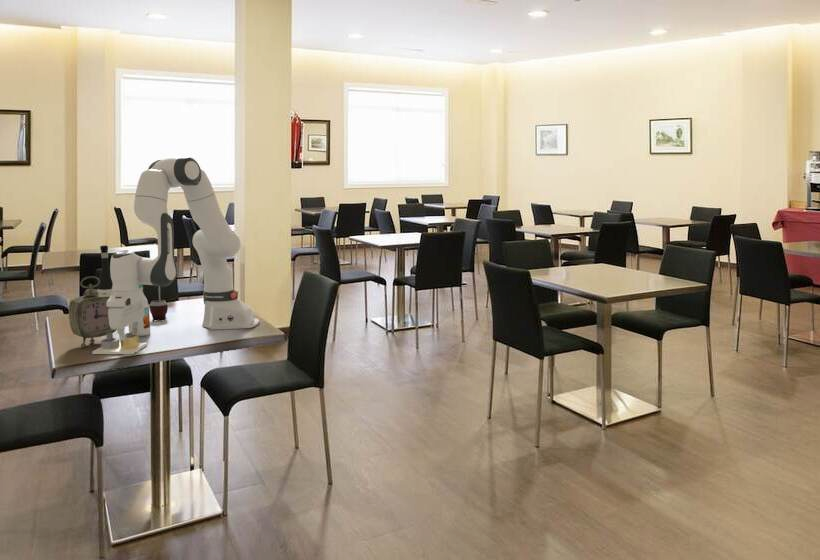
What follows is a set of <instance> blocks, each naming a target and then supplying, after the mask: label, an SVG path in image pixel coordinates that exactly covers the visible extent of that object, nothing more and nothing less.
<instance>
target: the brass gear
mask: <svg viewBox="0 0 820 560" xmlns="http://www.w3.org/2000/svg"><path fill="white" fill-rule="evenodd" d="M119 342H120V343H121V348H122V349H133V348H137V347H139V343H140V342H139V336H138V335H136V334H132V337H126V339H125V340H120V339H119Z"/></svg>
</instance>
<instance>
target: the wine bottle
mask: <svg viewBox="0 0 820 560" xmlns="http://www.w3.org/2000/svg"><path fill="white" fill-rule="evenodd" d="M99 248H100V255H101V272H100V275H99V277H98V278H99V280H100V283H99V285H98V286H96V288H97V289H96V290H97V291H98V292H99V294H101V295H105V296H109V297H110V296H111V294H112V286H113V283H112V280H111V273H110V262H109V251H108V250H109V246H108V245H107V244H106V245H100V247H99ZM98 282H99V281H98V280H97V283H98Z"/></svg>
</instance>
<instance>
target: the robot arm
mask: <svg viewBox="0 0 820 560" xmlns="http://www.w3.org/2000/svg"><path fill="white" fill-rule="evenodd" d="M179 187H180V188H181V189H182V191H183V194H184V198H185V201H186V204H187V206H188V210H189V212H190V215H191V217H192V220H193V221H194V222H195V224H196V225H197V226H198V227H199V228H200V229H198V230H197V231H196V232H195V233H194V234H193V236H192V245H193V248H194V249H195V250H196V252H197V255H198V257H199V261H200V264H201V269H202V275H203V286H204V287H203V288H204V290H203V295H202V297H203V305H204V312H203V320H202V324H201V326H202V327H204V328H208V329H209V330H211V331H212V330H215V331H216V330H236V329H237V330H239V329H251V328H254V327H257V326H258V325H259V324H260V320H259V318H255V317H254V312H253V309H252V307H251V306H249V305H248V304H247V303H245V302H244V301H242V300H240V299H239V290H237V291H236V289H233V272H232V269H231V268H230V265H229V264H228V263H229V262H228V261H227V258H230V257H233V256H235V255H237V254H238V253H239V251H240V249H241V245H242V244H241V239H240V237H239V236H238V235H237V234H236V233H235V232H234V231H233V230H232V228H231V226H230V224H229V223H228V222H227V220H226V218H225V216H224V215H223V211H222V210H221V207H220V205H219V202H218V200H217V196H216V193H215V191H214V188H213V186H212V183H211V181H210V179H209V177H208V175H207V173H206V172H205V170H203V169H202V168H201V165H199V163H198V162H197V160H195V158H193V157H190V156H183V155H182V156H172V157H168V158H163V159H157V160H155V161H153V162H152V163H151V164H150V165H149V166H148V168H147V169H146V170H144V171H142V172H141V174H140V177H139V178H138V181H137V185H136V190H135V195H134V202H133V212H134V214H135V216H136V217H137V219H138V220H139V221H140V222H142V223H144V224H145V225H148V226H149V227H151V228H153V229H154V230H155V233H156V235H157V256H156V258H155V257H143V256H140V255H138V254H136V253H135V252H134V250H130V249H126V250H125V249H124V250H120V251H116V252H114V253H113V254H111V258H110V262H109V268H110V273H111V280H112V283H113V286H112V294H111V296H110V298H109V299H108V300H107V302H106V306H107V307H109V309H108V319H109V326H110V328H111V329H112V330H116V332H117V334H118V337H119V338H118V339H119V341H120V340H125V339H126V332H125V331H126V329H125V328H127V327H129V325H130V324H132V323H133V326H132V329H131V330H132V333H137V332H138V326H139V320H140V319H142V318H143V317H144V314H145V312H144V305H143V300H142V299H141V298H140V292H139V286H138V284H143V286H144V285H146V286H147V285H148V286H155V287H159V286H160V288H161V287H162V288H166V287H168V286H170V285H171V284H172V283H174V280H175V279H176V278H177V267H176V261H175V235H174V233H175V231H174V229H175V228H174V221H173V218H172V216H171V215H170V214H169V211H168V197H169V196H168V195H169V191H170V189H171V188H173V189H174V188H175V189H176V188H179Z"/></svg>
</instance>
